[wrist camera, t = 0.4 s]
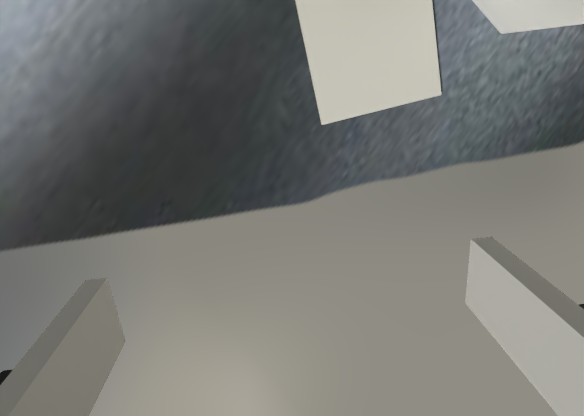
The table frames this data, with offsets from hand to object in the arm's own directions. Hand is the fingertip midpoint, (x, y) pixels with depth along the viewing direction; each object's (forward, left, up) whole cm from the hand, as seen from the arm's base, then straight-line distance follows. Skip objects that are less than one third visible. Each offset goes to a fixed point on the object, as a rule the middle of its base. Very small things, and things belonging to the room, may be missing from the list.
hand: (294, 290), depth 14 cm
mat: (-7, +11, -27) cm, 30 cm away
